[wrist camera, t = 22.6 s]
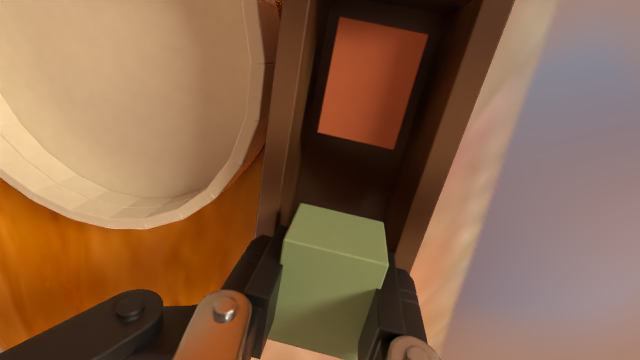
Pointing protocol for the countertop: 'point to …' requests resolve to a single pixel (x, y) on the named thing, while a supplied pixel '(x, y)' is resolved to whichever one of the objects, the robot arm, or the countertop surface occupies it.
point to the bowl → (133, 103)
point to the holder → (416, 130)
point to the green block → (328, 280)
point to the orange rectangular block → (370, 81)
